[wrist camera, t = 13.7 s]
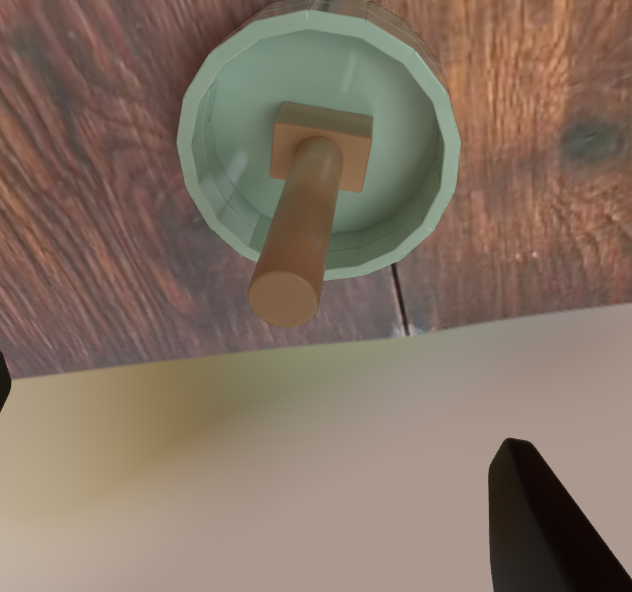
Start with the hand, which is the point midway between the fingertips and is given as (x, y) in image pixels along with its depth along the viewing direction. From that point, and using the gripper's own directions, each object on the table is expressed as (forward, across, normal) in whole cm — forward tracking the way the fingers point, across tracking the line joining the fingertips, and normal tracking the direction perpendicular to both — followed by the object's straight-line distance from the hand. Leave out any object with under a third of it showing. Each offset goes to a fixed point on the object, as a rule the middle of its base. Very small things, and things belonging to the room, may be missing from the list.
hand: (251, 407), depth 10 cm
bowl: (+13, 0, 0) cm, 13 cm away
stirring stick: (+12, 0, 0) cm, 13 cm away
